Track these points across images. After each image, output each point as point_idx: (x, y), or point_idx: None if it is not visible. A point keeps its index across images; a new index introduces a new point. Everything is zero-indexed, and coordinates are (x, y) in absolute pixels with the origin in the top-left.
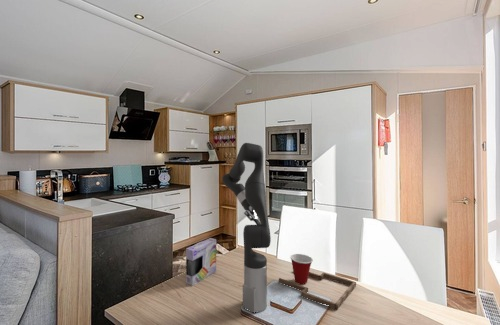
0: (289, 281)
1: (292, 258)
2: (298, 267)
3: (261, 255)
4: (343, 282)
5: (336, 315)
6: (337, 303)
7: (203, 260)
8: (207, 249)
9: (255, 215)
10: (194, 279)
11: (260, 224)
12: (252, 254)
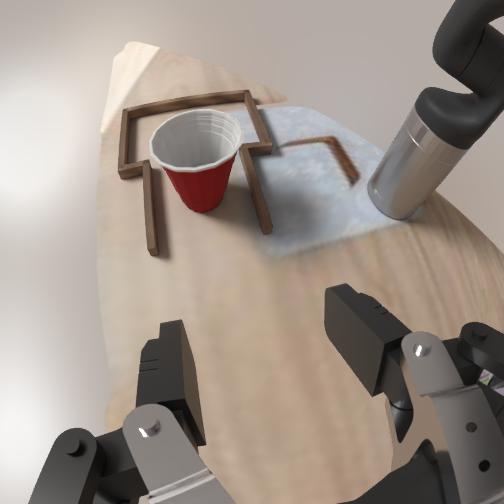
0: (255, 193)
1: (209, 170)
2: (232, 143)
3: (439, 94)
4: (128, 131)
5: (263, 93)
6: (242, 90)
7: (501, 389)
8: None
9: (436, 391)
10: (488, 372)
11: (344, 283)
12: (470, 93)
